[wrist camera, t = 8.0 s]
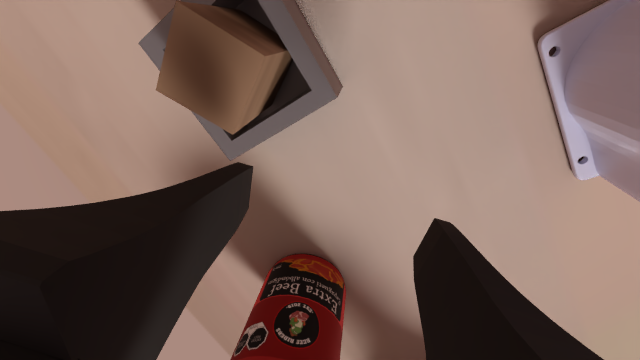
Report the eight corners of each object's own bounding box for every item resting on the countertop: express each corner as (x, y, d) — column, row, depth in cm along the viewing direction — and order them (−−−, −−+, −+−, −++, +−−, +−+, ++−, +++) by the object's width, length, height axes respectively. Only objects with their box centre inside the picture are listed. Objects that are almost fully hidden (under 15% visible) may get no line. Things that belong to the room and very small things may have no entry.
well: (342, 86, 18) (337, 97, 15) (249, 143, 21) (230, 161, 18) (269, -47, 15) (245, -64, 12) (174, 40, 18) (138, 43, 15)
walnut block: (298, 47, 17) (265, 56, 11) (271, 104, 19) (232, 134, 13) (239, 9, 16) (176, 0, 11) (218, 72, 18) (155, 90, 13)
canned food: (357, 264, 25) (347, 413, 15) (334, 317, 29) (316, 462, 19) (274, 240, 25) (214, 372, 15) (264, 296, 29) (210, 428, 19)
